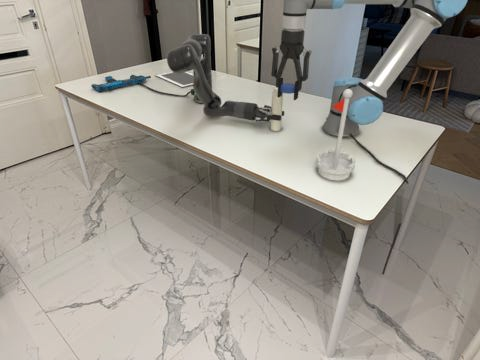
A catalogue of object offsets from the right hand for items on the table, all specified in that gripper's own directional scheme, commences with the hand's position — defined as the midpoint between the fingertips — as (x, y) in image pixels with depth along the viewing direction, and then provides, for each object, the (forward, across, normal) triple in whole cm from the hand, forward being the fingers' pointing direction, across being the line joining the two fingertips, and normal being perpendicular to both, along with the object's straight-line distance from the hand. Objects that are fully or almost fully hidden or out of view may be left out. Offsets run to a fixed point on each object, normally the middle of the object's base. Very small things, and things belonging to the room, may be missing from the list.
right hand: (287, 97), depth 124 cm
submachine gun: (+22, +120, -34) cm, 126 cm away
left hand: (+15, +8, -16) cm, 23 cm away
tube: (+21, +10, -16) cm, 28 cm away
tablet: (+21, +92, -60) cm, 112 cm away
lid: (-4, 0, 0) cm, 4 cm away
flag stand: (+21, -23, +9) cm, 32 cm away
